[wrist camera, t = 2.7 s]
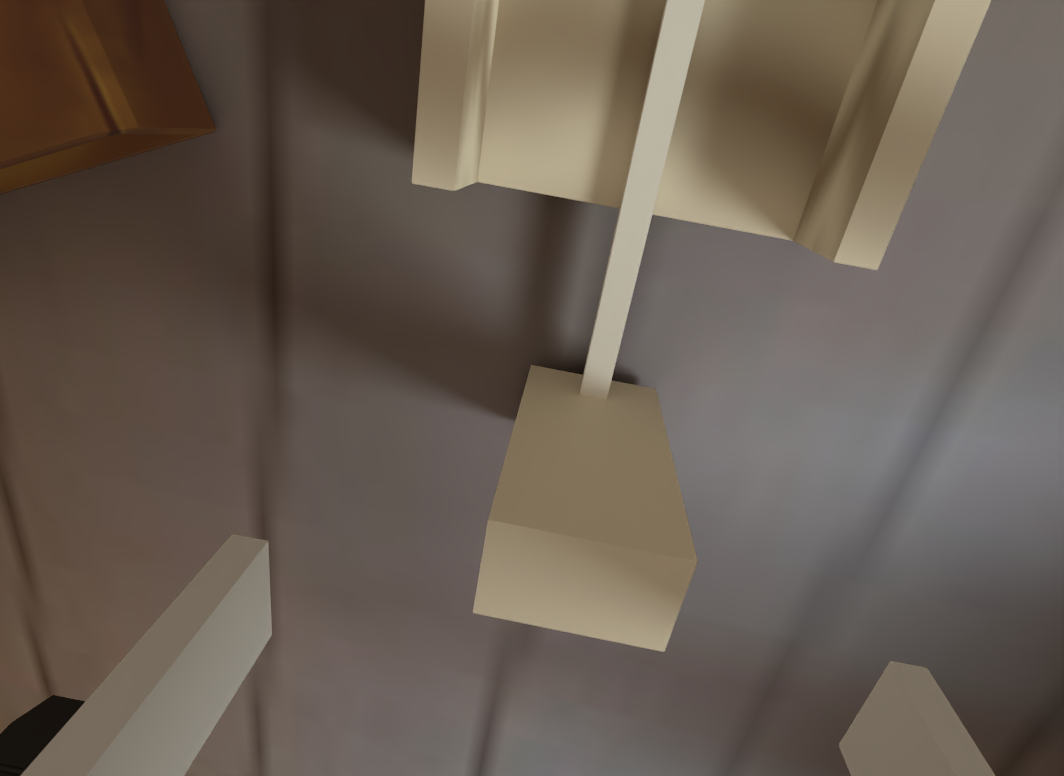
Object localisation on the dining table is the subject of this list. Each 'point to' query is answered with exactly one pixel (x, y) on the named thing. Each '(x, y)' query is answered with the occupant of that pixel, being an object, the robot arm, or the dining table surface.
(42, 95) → the diary
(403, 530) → the dining table surface
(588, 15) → the lane
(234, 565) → the robot arm
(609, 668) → the dining table surface
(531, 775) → the dining table surface
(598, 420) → the block sled
